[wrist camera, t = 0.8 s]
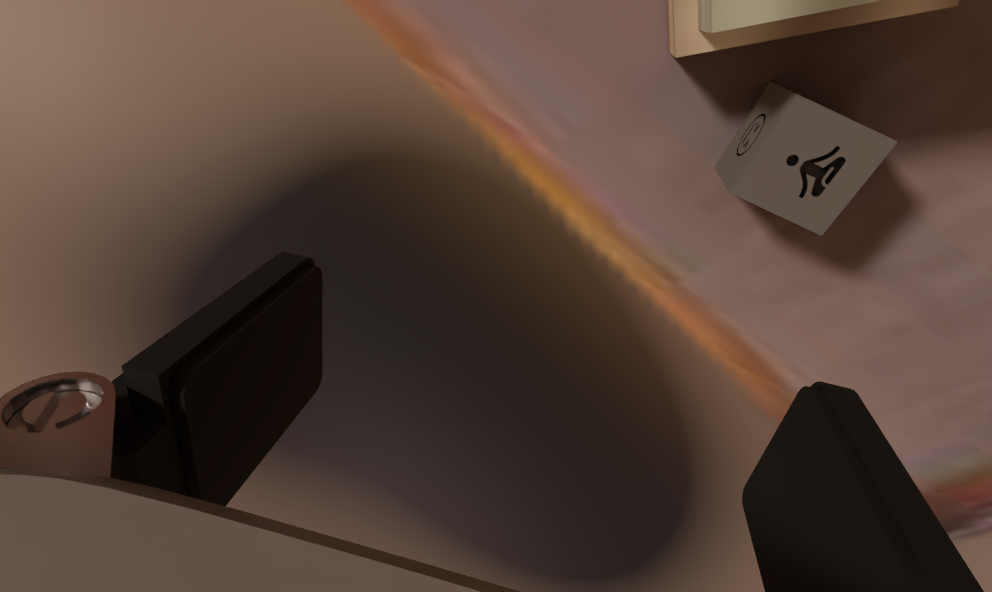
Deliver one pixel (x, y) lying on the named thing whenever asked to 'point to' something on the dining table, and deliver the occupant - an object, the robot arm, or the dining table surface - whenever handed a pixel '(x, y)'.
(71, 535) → the robot arm
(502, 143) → the dining table surface
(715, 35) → the cream layered block
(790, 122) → the dice cube
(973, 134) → the dining table surface
